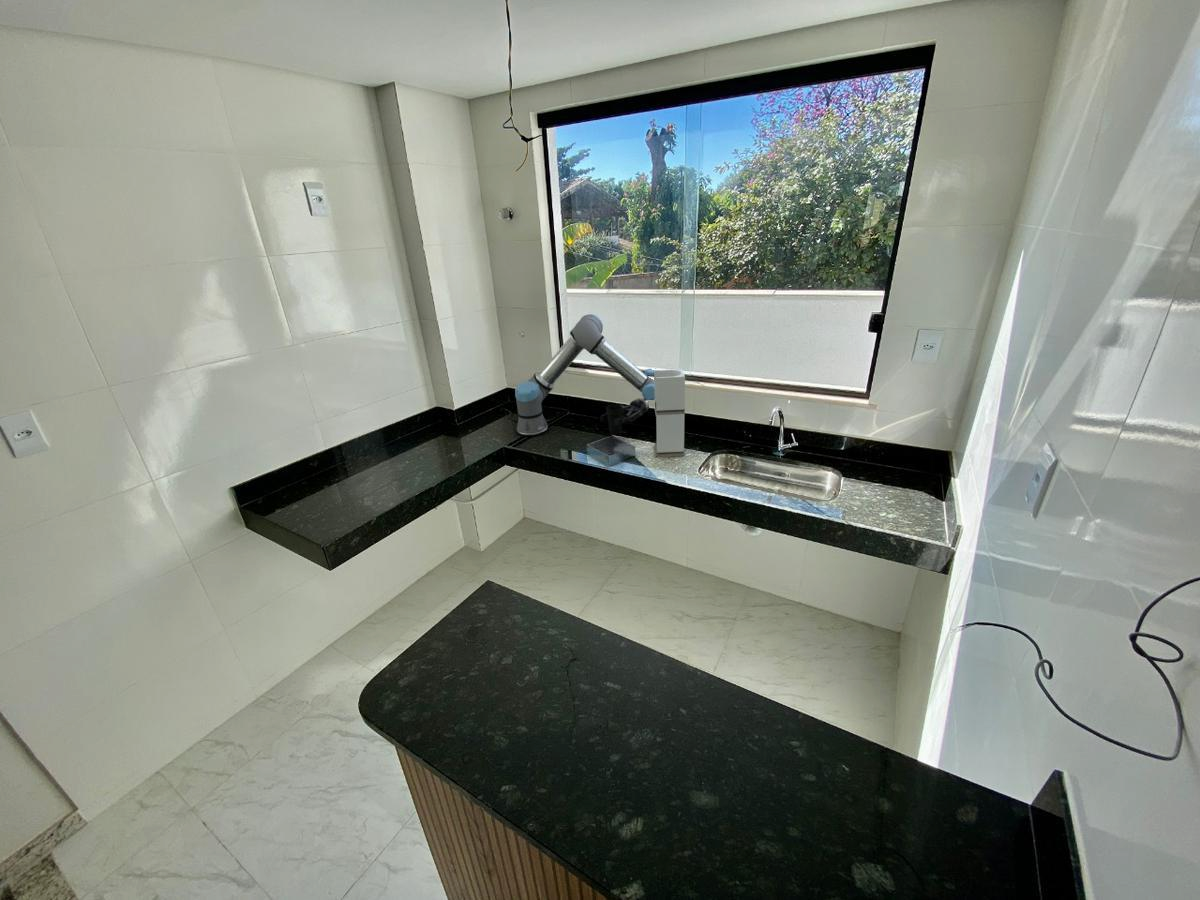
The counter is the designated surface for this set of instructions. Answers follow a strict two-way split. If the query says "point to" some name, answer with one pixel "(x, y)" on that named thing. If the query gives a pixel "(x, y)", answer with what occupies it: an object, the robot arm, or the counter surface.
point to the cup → (613, 414)
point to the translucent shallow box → (610, 450)
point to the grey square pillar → (669, 411)
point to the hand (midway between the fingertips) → (607, 420)
